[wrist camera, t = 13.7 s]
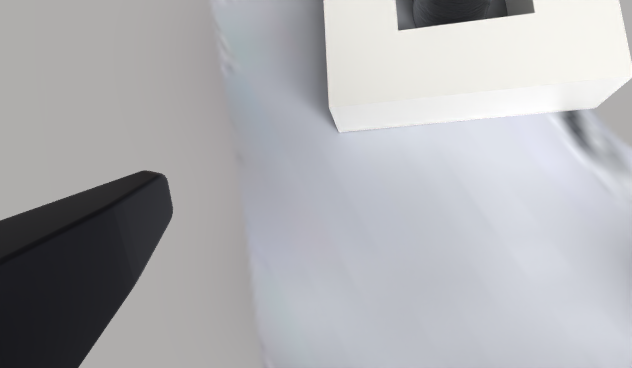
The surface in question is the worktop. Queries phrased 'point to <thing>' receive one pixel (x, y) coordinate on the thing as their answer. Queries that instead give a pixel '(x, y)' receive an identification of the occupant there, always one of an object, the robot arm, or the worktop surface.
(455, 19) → the long pin
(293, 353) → the worktop surface
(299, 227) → the worktop surface
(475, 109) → the hole block
